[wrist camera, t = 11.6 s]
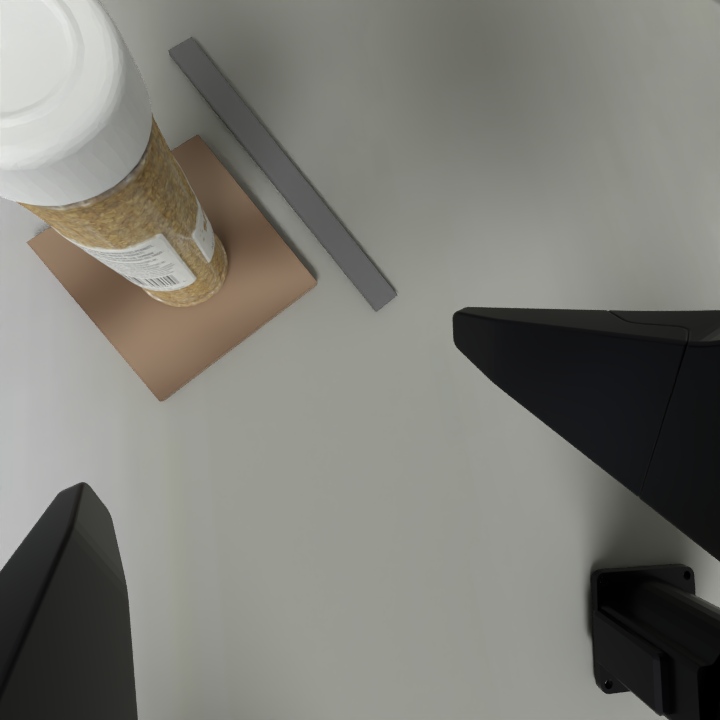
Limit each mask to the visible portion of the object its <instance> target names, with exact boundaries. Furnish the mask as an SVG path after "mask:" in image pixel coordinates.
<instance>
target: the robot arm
mask: <svg viewBox="0 0 720 720" xmlns="http://www.w3.org/2000/svg"><path fill="white" fill-rule="evenodd" d="M453 339H454V343H455V345H456V347H457V348H458V349H459V350H460V351H461V352H462V353H463V354H464V355H465V356H466V357H467V358H468V359H469V360H470V361H471V362H472V363H473V364H474V365H475V366H476V367H477V368H478V369H479V370H480V371H481V372H482V373H484V374H485V375H486V376H487V377H488V378H489V379H490V380H491V381H492V382H493V383H494V384H495V385H497V386H498V387H499V388H500V389H502V390H503V391H504V392H505V393H507V394H508V395H509V396H510V397H512V398H513V399H514V400H516V401H517V402H518V403H519V404H521V405H522V406H523V407H524V408H526V409H527V410H528V411H530V412H531V413H532V414H533V415H535V416H536V417H537V418H538V419H540V420H541V421H542V422H544V423H545V424H546V425H547V426H549V427H550V428H551V429H552V430H554V431H555V432H556V433H557V434H559V435H560V436H561V437H563V438H564V439H565V440H566V441H568V442H569V443H570V444H571V445H573V446H574V447H575V448H577V449H578V450H579V451H580V452H582V453H583V454H584V455H585V456H587V457H588V458H589V459H591V460H592V461H593V462H594V463H596V464H597V465H598V466H599V467H601V468H602V469H603V470H605V471H606V472H607V473H608V474H610V475H611V476H612V477H613V478H615V479H616V480H617V481H618V482H620V483H621V484H622V485H624V486H625V487H626V488H627V489H629V490H630V491H631V492H632V493H634V494H635V495H636V496H639V498H640V499H641V500H642V501H643V502H645V503H646V504H647V505H649V506H650V507H651V508H652V509H654V510H655V511H656V512H657V513H659V514H660V515H661V516H662V517H664V518H665V519H666V520H668V521H669V522H670V523H671V524H673V525H674V526H675V527H676V528H678V529H679V530H680V531H682V532H683V533H684V534H685V535H687V536H688V537H689V538H690V539H692V540H693V541H694V542H695V543H697V544H698V545H699V546H701V547H702V548H703V549H704V550H706V551H707V552H708V553H709V554H711V555H712V556H713V557H715V558H716V559H717V560H718V561H720V310H704V311H615V310H610V311H606V310H571V309H529V308H487V307H466V308H463V309H461V310H459V311H457V312H455V313H454V315H453ZM683 574H684V575H683ZM602 578H603V581H602V582H601V583H600V581H601V579H602ZM591 580H592V605H593V630H594V655H595V680H596V684H597V686H598V687H599V688H600V689H601V690H602V691H603V692H604V693H606V694H612V693H620V692H628V691H631V692H632V693H633V694H635V695H636V696H637V697H638V698H639V699H640V700H641V701H643V702H644V703H645V704H646V705H647V706H648V707H649V708H651V709H652V710H653V711H654V712H655V713H656V714H657V715H659V716H665V717H666V718H667V719H668V720H720V608H719V607H717V606H715V605H713V604H711V603H709V602H707V601H705V600H703V599H701V598H699V597H697V596H695V581H694V572H693V570H692V569H691V568H690V567H688V566H685V565H683V564H672V565H657V566H643V567H628V568H614V569H600V570H596V571H595V572H594V573H593V574H592V579H591ZM606 680H607V682H606ZM605 682H606V683H605ZM0 720H138V715H137V702H136V690H135V677H134V664H133V651H132V639H131V626H130V613H129V600H128V592H127V585H126V580H125V575H124V571H123V566H122V562H121V557H120V553H119V548H118V544H117V539H116V535H115V530H114V526H113V521H112V518H111V515H110V513H109V511H108V509H107V508H106V506H105V505H104V504H103V503H102V501H101V500H100V499H99V497H98V496H97V495H96V493H95V492H94V491H93V489H92V488H91V487H90V486H89V485H88V484H87V483H84V482H81V483H78V484H76V485H74V486H72V487H69V488H67V489H65V490H63V491H61V492H60V493H59V494H58V495H57V496H56V497H55V499H54V500H53V501H52V503H51V504H50V505H49V507H48V508H47V509H46V511H45V512H44V514H43V515H42V516H41V518H40V519H39V520H38V522H37V523H36V524H35V526H34V527H33V528H32V530H31V531H30V532H29V534H28V535H27V536H26V538H25V539H24V540H23V542H22V543H21V544H20V546H19V547H18V548H17V550H16V551H15V552H14V554H13V555H12V556H11V558H10V559H9V560H8V562H7V563H6V565H5V566H4V567H3V569H2V570H1V571H0Z"/></svg>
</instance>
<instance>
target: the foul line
mask: <svg viewBox="0 0 720 720" xmlns="http://www.w3.org/2000/svg"><path fill="white" fill-rule="evenodd" d="M168 51H169V54H170V56H171V57H172V58H173V59H174V61H175V62H176V63H177V64H178V66H179V67H180V68H181V69H182V71H183V72H184V73H185V74H186V76H187V77H188V78H189V79H190V81H191V82H192V83H193V84H194V86H195V87H196V88H197V89H198V91H199V92H200V93H201V94H202V96H203V97H204V98H205V99H206V101H207V102H208V103H209V104H210V106H211V107H212V108H213V109H214V111H215V112H216V113H217V114H218V116H219V117H220V118H221V119H222V121H223V122H224V123H225V124H226V126H227V127H228V128H229V129H230V131H231V132H232V133H233V134H234V136H235V137H236V138H237V139H238V141H239V142H240V143H241V144H242V146H243V147H244V148H245V149H246V150H247V152H248V153H249V154H250V155H251V157H252V158H253V159H254V160H255V162H256V163H257V164H258V165H259V167H260V168H261V169H262V170H263V172H264V173H265V174H266V175H267V177H268V178H269V179H270V180H271V182H272V183H273V184H274V185H275V187H276V188H277V189H278V190H279V192H280V193H281V194H282V195H283V197H284V198H285V199H286V200H287V202H288V203H289V204H290V205H291V207H292V208H293V209H294V210H295V212H296V213H297V214H298V215H299V217H300V218H301V219H302V220H303V222H304V223H305V224H306V225H307V227H308V228H309V229H310V230H311V232H312V233H313V234H314V235H315V237H316V238H317V239H318V240H319V242H320V243H321V244H322V245H323V247H324V248H325V249H326V250H327V252H328V253H329V254H330V255H331V257H332V258H333V259H334V260H335V262H336V263H337V264H338V265H339V267H340V268H341V269H342V270H343V271H344V273H345V274H346V275H347V276H348V278H349V279H350V280H351V281H352V283H353V284H354V285H355V286H356V288H357V289H358V290H359V291H360V293H361V294H362V295H363V296H364V298H365V299H366V300H367V301H368V303H369V304H370V305H371V306H372V308H373V309H374V310H375V311H376V312H377V311H378V310H379V309H380V308H382V307H383V306H384V305H385V304H387V303H388V302H389V301H390V300H392V299H393V298H394V297H395V296H396V295H397V294H396V293H395V292H394V290H393V289H392V288H391V287H390V285H389V284H388V283H387V282H386V280H385V279H384V278H383V277H382V275H381V274H380V273H379V272H378V270H377V269H376V268H375V267H374V265H373V264H372V263H371V262H370V260H369V259H368V258H367V257H366V255H365V254H364V253H363V252H362V250H361V249H360V248H359V247H358V245H357V244H356V243H355V241H354V240H353V239H352V238H351V236H350V235H349V234H348V233H347V231H346V230H345V229H344V228H343V226H342V225H341V224H340V223H339V221H338V220H337V219H336V218H335V216H334V215H333V214H332V213H331V211H330V210H329V209H328V208H327V206H326V205H325V204H324V203H323V201H322V200H321V199H320V198H319V196H318V195H317V194H316V193H315V191H314V190H313V189H312V188H311V186H310V185H309V184H308V183H307V181H306V180H305V179H304V178H303V176H302V175H301V174H300V173H299V171H298V170H297V169H296V168H295V166H294V165H293V164H292V163H291V161H290V160H289V159H288V157H287V156H286V155H285V154H284V152H283V151H282V150H281V149H280V147H279V146H278V145H277V144H276V142H275V141H274V140H273V139H272V137H271V136H270V135H269V134H268V132H267V131H266V130H265V129H264V127H263V126H262V125H261V124H260V122H259V121H258V120H257V119H256V117H255V116H254V115H253V114H252V112H251V111H250V110H249V109H248V107H247V106H246V105H245V104H244V102H243V101H242V100H241V99H240V97H239V96H238V95H237V94H236V92H235V91H234V90H233V89H232V87H231V86H230V85H229V84H228V82H227V81H226V80H225V78H224V77H223V76H222V75H221V73H220V72H219V71H218V70H217V68H216V67H215V66H214V65H213V63H212V62H211V61H210V60H209V58H208V57H207V56H206V55H205V53H204V52H203V51H202V50H201V48H200V47H199V46H198V45H197V43H196V42H195V41H194V40H193V38H192V37H191V38H189V39H188V40H186V41H184V42H182V43H181V44H179V45H177V46H175V47H174V48H172V49H170V50H168Z"/></svg>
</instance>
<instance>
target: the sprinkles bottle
mask: <svg viewBox="0 0 720 720" xmlns="http://www.w3.org/2000/svg"><path fill="white" fill-rule="evenodd" d="M0 197H3V198H6V199H9V200H12V201H16V202H17V203H19V204H20V205H22V206H24V207H25V208H27V209H28V210H30V211H31V212H33V213H34V214H35V215H37V216H38V217H39V218H41V219H42V220H44V221H45V222H46V223H48V224H49V225H50V226H51V227H52V228H53V229H55V230H56V231H57V232H58V233H59V234H61V235H62V236H63V237H65V238H66V239H67V240H69V241H70V242H72V243H73V244H75V245H76V246H78V247H80V248H81V249H83V250H84V251H85V252H87V253H88V254H90V255H91V256H93V257H95V258H96V259H98V260H99V261H101V262H102V263H104V264H105V265H107V266H108V267H110V268H111V269H113V270H114V271H116V272H117V273H119V274H120V275H122V276H123V277H125V278H126V279H128V280H129V281H131V282H133V283H134V284H136V285H138V286H140V287H142V289H143V290H144V291H145V292H146V293H147V294H148V295H150V296H151V297H152V298H154V299H155V300H157V301H160V302H162V303H164V304H167V305H171V306H175V307H189V306H195V305H197V304H200V303H202V302H204V301H206V300H208V299H209V298H210V297H212V296H213V295H214V294H215V293H217V292H218V291H219V290H220V288H221V287H222V285H223V283H224V280H225V277H226V274H227V264H228V261H227V255H226V252H225V249H224V246H223V245H222V243H221V241H220V240H219V238H218V237H217V235H216V234H215V233H213V229H212V227H211V224H210V222H209V220H208V218H207V216H206V214H205V212H204V210H203V209H202V207H201V205H200V203H199V201H198V199H197V197H196V195H195V193H194V192H193V190H192V188H191V186H190V184H189V182H188V180H187V178H186V176H185V174H184V172H183V170H182V169H181V167H180V165H179V164H178V162H177V161H176V159H175V158H174V156H173V155H172V153H171V151H170V149H169V147H168V145H167V143H166V141H165V139H164V137H163V136H162V134H161V132H160V130H159V128H158V126H157V124H156V122H155V120H154V118H153V114H152V109H151V102H150V97H149V93H148V90H147V87H146V84H145V82H144V80H143V78H142V76H141V73H140V71H139V69H138V67H137V65H136V63H135V61H134V59H133V57H132V55H131V53H130V51H129V49H128V47H127V45H126V43H125V41H124V40H123V38H122V36H121V34H120V32H119V30H118V28H117V26H116V25H115V23H114V21H113V20H112V18H111V17H110V15H109V13H108V12H107V10H106V9H105V7H104V6H103V5H102V4H101V2H100V1H99V0H0Z"/></svg>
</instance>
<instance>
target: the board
mask: <svg viewBox="0 0 720 720" xmlns="http://www.w3.org/2000/svg"><path fill="white" fill-rule="evenodd" d="M171 153H172V155H173V156H174V158H175V159H176V161H177V162H178V164H179V165H180V167H181V169H182V170H183V172H184V174H185V176H186V178H187V180H188V182H189V184H190V186H191V188H192V190H193V192H194V193H195V195H196V197H197V199H198V201H199V203H200V205H201V207H202V209H203V210H204V212H205V214H206V216H207V218H208V220H209V222H210V224H211V227H212V229H213V233H215V234H216V235H217V237H218V238H219V240H220V241H221V243H222V245H223V246H224V249H225V252H226V255H227V261H228V264H227V274H226V277H225V280H224V283H223V285H222V287H221V288H220V290H219V291H218V292H217V293H215V294H214V295H213V296H212V297H210V298H209V299H208V300H206V301H204V302H202V303H200V304H197V305H195V306H189V307H175V306H171V305H167V304H164V303H162V302H160V301H157V300H155V299H154V298H152V297H151V296H150V295H148V294H147V293H146V292H145V291H144V290H143V289H142V287H140V286H138V285H136V284H134V283H133V282H131V281H129V280H128V279H126V278H125V277H123V276H122V275H120V274H119V273H117V272H116V271H114V270H113V269H111V268H110V267H108V266H107V265H105V264H104V263H102V262H101V261H99V260H98V259H96V258H95V257H93V256H91V255H90V254H88V253H87V252H85V251H84V250H83V249H81V248H80V247H78V246H76V245H75V244H73V243H72V242H70V241H69V240H67V239H66V238H65V237H63V236H62V235H61V234H59V233H58V232H57V231H56V230H55V229H53V228H52V227H50V228H48V229H47V230H45V231H43V232H42V233H40V234H39V235H37V236H36V237H34V238H32V239H31V240H29V241H28V242H27V243H28V245H29V246H30V247H31V248H32V249H33V250H34V252H35V253H36V254H37V255H38V256H39V258H40V259H41V260H42V261H43V262H44V264H45V265H46V266H47V267H48V268H49V270H50V271H51V272H52V273H53V274H54V276H55V277H56V278H57V279H58V280H59V282H60V283H61V284H62V285H63V286H64V288H65V289H66V290H67V291H68V292H69V294H70V295H71V296H72V297H73V298H74V300H75V301H76V302H77V303H78V304H79V305H80V307H81V308H82V309H83V310H84V311H85V313H86V314H87V315H88V316H89V317H90V319H91V320H92V321H93V322H94V323H95V325H96V326H97V327H98V328H99V329H100V331H101V332H102V333H103V334H104V335H105V337H106V338H107V339H108V340H109V341H110V343H111V344H112V345H113V346H114V347H115V349H116V350H117V351H118V352H119V353H120V355H121V356H122V357H123V358H124V359H125V360H126V362H127V363H128V364H129V365H130V366H131V368H132V369H133V370H134V371H135V372H136V374H137V375H138V376H139V377H140V378H141V380H142V381H143V382H144V383H145V384H146V386H147V387H148V388H149V389H150V390H151V392H152V393H153V394H154V395H155V396H156V398H157V399H158V400H159V401H164V400H166V399H167V398H168V397H170V396H171V395H172V394H174V393H175V392H176V391H178V390H179V389H180V388H181V387H183V386H184V385H185V384H187V383H188V382H189V381H191V380H192V379H193V378H195V377H196V376H197V375H199V374H200V373H201V372H203V371H204V370H205V369H207V368H208V367H209V366H211V365H212V364H213V363H215V362H216V361H217V360H218V359H220V358H221V357H222V356H224V355H225V354H226V353H228V352H229V351H230V350H232V349H233V348H234V347H236V346H237V345H238V344H240V343H241V342H242V341H244V340H245V339H246V338H248V337H249V336H250V335H251V334H253V333H254V332H255V331H257V330H258V329H259V328H261V327H262V326H263V325H265V324H266V323H267V322H269V321H270V320H271V319H273V318H274V317H275V316H277V315H278V314H279V313H281V312H282V311H283V310H285V309H286V308H287V307H288V306H290V305H291V304H292V303H294V302H295V301H296V300H298V299H299V298H300V297H302V296H303V295H304V294H306V293H307V292H308V291H310V290H311V289H312V288H314V287H315V286H316V285H317V282H316V280H315V279H314V278H313V277H312V275H311V274H310V273H309V272H308V270H307V269H306V268H305V267H304V265H303V264H302V263H301V262H300V260H299V259H298V258H297V257H296V255H295V254H294V253H293V252H292V251H291V249H290V248H289V247H288V246H287V244H286V243H285V242H284V241H283V239H282V238H281V237H280V236H279V234H278V233H277V232H276V231H275V229H274V228H273V227H272V226H271V224H270V223H269V222H268V221H267V219H266V218H265V217H264V216H263V215H262V213H261V212H260V211H259V210H258V208H257V207H256V206H255V205H254V203H253V202H252V201H251V200H250V198H249V197H248V196H247V195H246V193H245V192H244V191H243V190H242V188H241V187H240V186H239V185H238V184H237V182H236V181H235V180H234V179H233V177H232V176H231V175H230V174H229V172H228V171H227V170H226V169H225V167H224V166H223V165H222V164H221V162H220V161H219V160H218V159H217V157H216V156H215V155H214V154H213V152H212V151H211V150H210V149H209V148H208V146H207V145H206V144H205V143H204V141H203V140H202V139H201V138H200V136H199V135H196V136H194V137H193V138H191V139H190V140H188V141H187V142H185V143H183V144H182V145H180V146H179V147H177V148H175V149H174V150H172V151H171Z"/></svg>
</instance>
